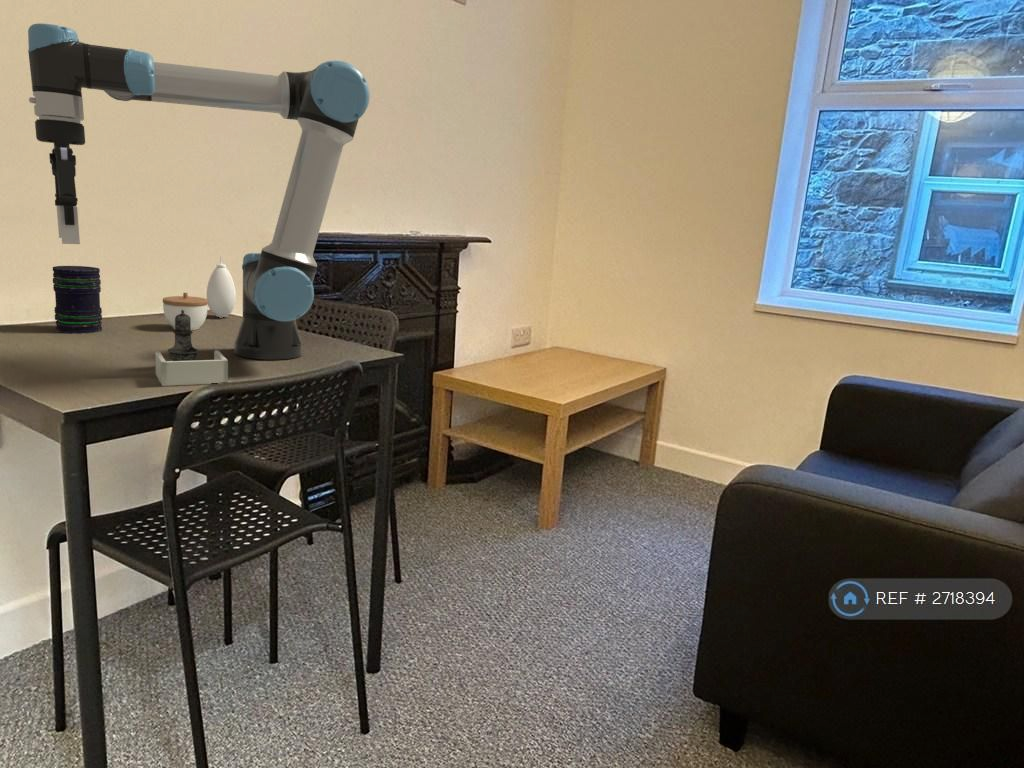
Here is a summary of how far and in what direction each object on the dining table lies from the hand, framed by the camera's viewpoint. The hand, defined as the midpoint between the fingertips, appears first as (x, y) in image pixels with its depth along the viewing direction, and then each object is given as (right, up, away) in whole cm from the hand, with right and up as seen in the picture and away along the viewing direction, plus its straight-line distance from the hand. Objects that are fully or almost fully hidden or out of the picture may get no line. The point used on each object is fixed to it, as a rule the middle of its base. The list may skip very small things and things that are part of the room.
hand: (69, 241), depth 134 cm
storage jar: (-23, -14, +41) cm, 49 cm away
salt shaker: (+14, -23, +15) cm, 31 cm away
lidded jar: (-3, -12, +55) cm, 56 cm away
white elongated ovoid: (-2, -8, +75) cm, 75 cm away
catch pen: (+20, -26, +7) cm, 33 cm away
